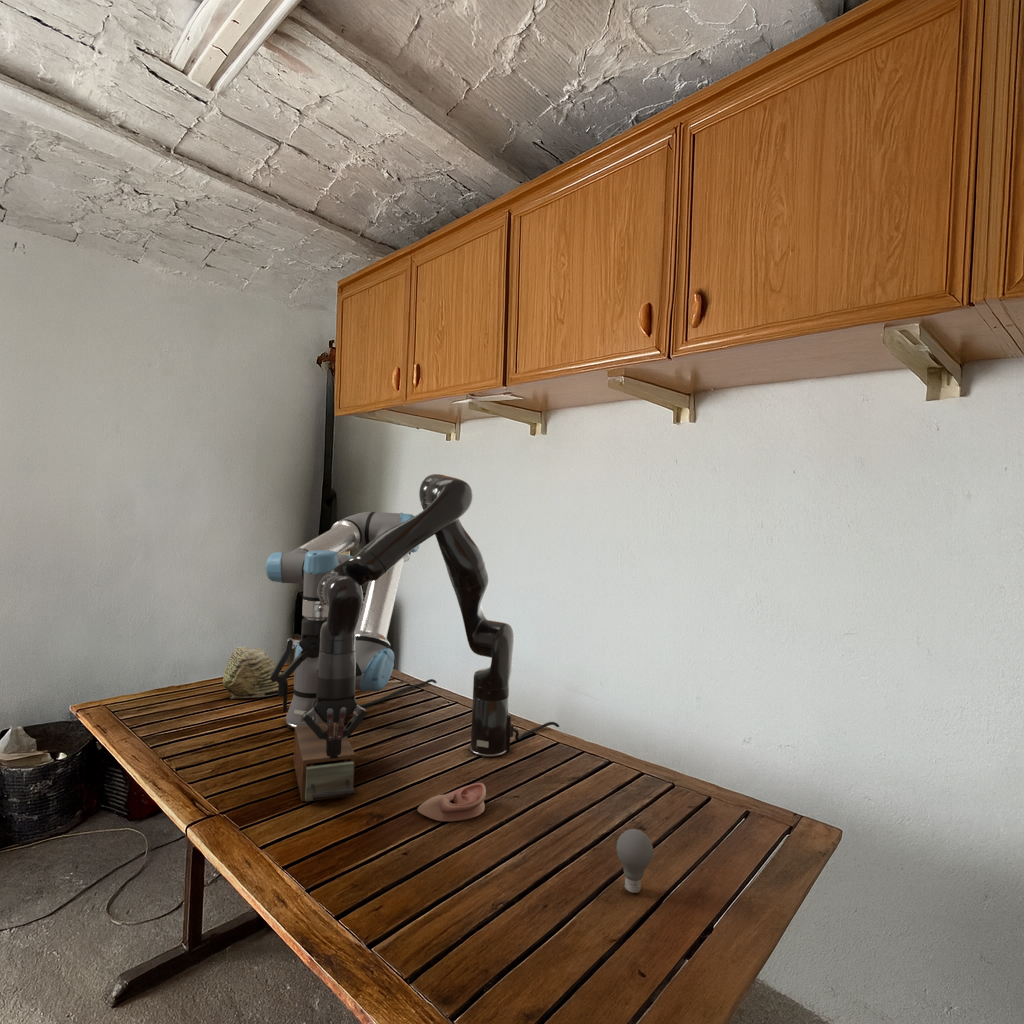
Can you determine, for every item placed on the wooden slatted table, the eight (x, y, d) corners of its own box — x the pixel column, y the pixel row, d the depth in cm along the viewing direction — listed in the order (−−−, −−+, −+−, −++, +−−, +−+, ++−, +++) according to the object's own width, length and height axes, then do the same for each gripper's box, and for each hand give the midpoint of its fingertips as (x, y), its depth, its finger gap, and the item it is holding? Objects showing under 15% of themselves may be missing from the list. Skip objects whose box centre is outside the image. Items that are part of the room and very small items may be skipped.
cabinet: (353, 794, 136) (355, 754, 135) (301, 801, 131) (303, 760, 131) (339, 756, 154) (340, 721, 154) (293, 762, 150) (294, 726, 150)
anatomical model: (412, 797, 126) (431, 773, 138) (411, 817, 126) (430, 791, 138) (476, 807, 124) (490, 781, 135) (476, 827, 124) (489, 800, 135)
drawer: (357, 807, 128) (358, 774, 128) (308, 814, 124) (309, 780, 124) (339, 758, 151) (340, 730, 151) (297, 763, 147) (298, 735, 147)
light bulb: (610, 879, 108) (613, 822, 108) (644, 879, 109) (647, 822, 109) (619, 902, 102) (622, 840, 102) (655, 901, 103) (658, 840, 103)
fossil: (218, 695, 195) (220, 647, 195) (278, 685, 208) (279, 640, 207) (228, 703, 189) (230, 653, 188) (289, 692, 201) (290, 645, 201)
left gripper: (261, 622, 139) (257, 717, 139) (375, 618, 148) (372, 708, 149) (261, 615, 146) (258, 707, 146) (370, 612, 155) (367, 698, 156)
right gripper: (304, 679, 122) (300, 769, 122) (373, 675, 127) (369, 760, 128) (300, 669, 129) (297, 754, 129) (366, 665, 134) (362, 746, 134)
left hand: (315, 708), depth 148 cm, fingers open, 13 cm apart
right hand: (333, 757), depth 128 cm, fingers closed
